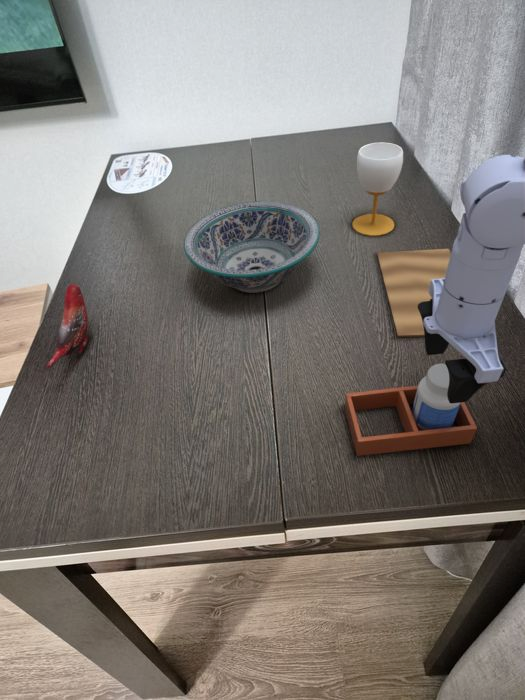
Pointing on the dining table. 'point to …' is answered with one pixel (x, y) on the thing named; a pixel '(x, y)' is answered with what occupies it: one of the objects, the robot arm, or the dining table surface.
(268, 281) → the bowl
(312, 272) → the dining table surface
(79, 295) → the decorative bird figurine
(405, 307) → the mat
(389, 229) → the cup
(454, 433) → the holder
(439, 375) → the pill bottle
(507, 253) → the robot arm
